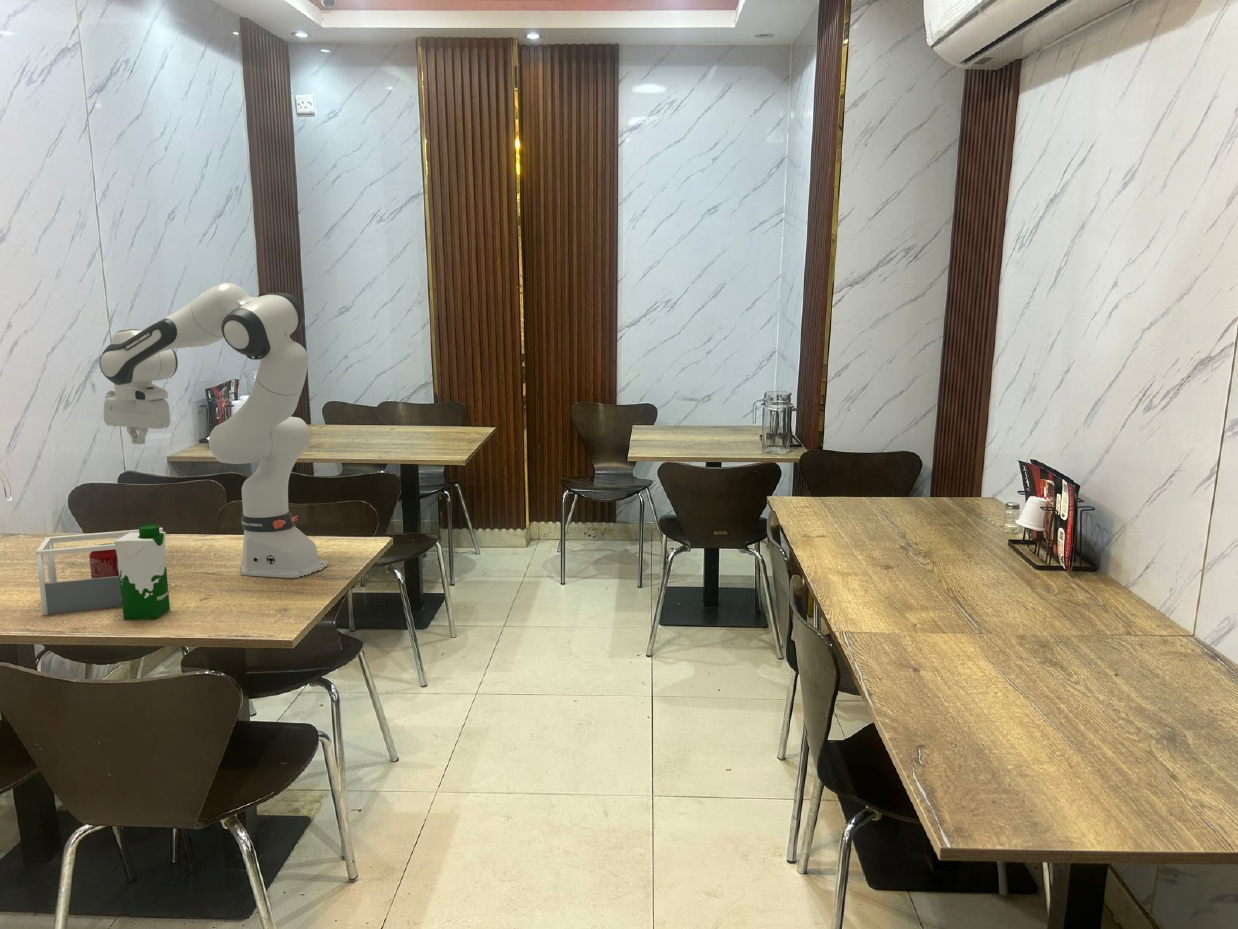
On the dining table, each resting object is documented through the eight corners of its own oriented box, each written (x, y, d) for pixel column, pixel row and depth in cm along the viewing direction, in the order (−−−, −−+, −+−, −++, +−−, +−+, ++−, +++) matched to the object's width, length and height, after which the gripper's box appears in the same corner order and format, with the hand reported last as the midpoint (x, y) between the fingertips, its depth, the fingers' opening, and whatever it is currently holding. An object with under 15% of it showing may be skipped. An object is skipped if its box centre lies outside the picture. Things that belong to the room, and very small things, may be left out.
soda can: (116, 600, 216) (111, 550, 214) (87, 600, 216) (82, 550, 214) (131, 591, 223) (127, 542, 220) (103, 591, 223) (98, 542, 220)
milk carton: (159, 620, 202) (151, 531, 199) (116, 621, 202) (107, 532, 198) (176, 607, 211) (168, 522, 207) (135, 608, 211) (127, 522, 207)
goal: (51, 597, 218) (44, 537, 215) (167, 585, 227) (162, 527, 224) (41, 615, 206) (34, 551, 203) (164, 601, 215) (159, 540, 212)
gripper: (94, 391, 244) (99, 443, 247) (152, 394, 237) (157, 447, 239) (115, 389, 250) (120, 440, 253) (172, 392, 243) (176, 444, 245)
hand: (138, 443), depth 246 cm, fingers closed
